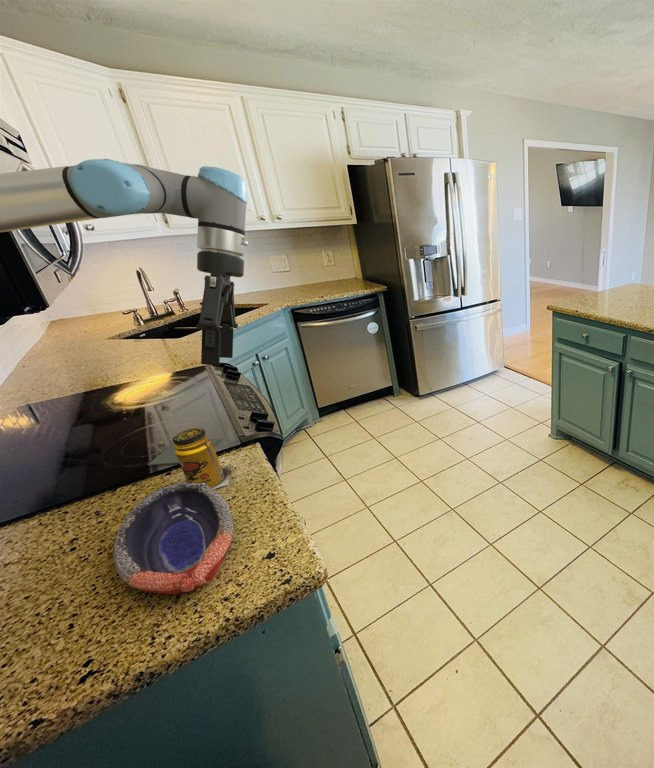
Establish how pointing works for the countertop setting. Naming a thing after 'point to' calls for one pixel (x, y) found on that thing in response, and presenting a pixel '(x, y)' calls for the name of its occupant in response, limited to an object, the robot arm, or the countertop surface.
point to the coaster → (170, 456)
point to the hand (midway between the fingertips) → (218, 361)
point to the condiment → (200, 459)
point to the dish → (174, 539)
